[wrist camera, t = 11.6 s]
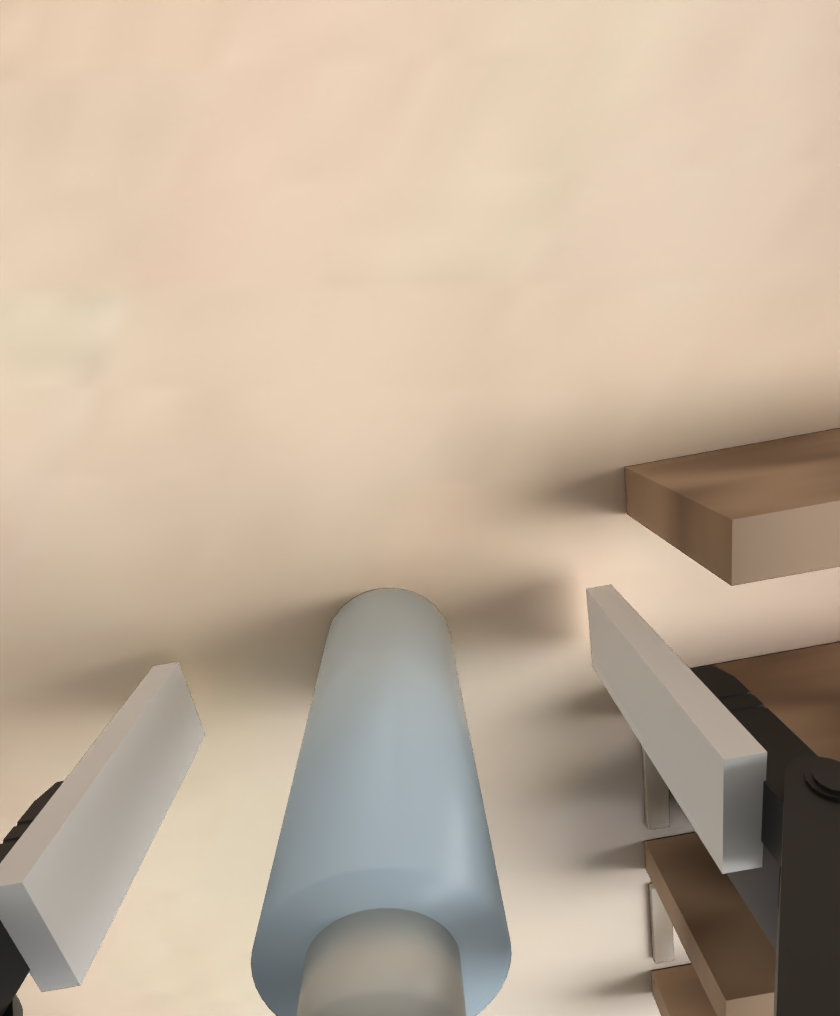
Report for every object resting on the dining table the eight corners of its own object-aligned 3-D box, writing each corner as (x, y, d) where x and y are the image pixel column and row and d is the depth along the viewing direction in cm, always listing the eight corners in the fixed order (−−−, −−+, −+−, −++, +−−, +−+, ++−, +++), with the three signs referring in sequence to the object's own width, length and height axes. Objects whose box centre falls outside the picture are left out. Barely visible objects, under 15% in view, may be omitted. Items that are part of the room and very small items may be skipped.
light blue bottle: (342, 705, 17) (274, 1157, 7) (314, 600, 16) (191, 977, 6) (458, 684, 17) (541, 1111, 7) (439, 577, 16) (509, 921, 6)
